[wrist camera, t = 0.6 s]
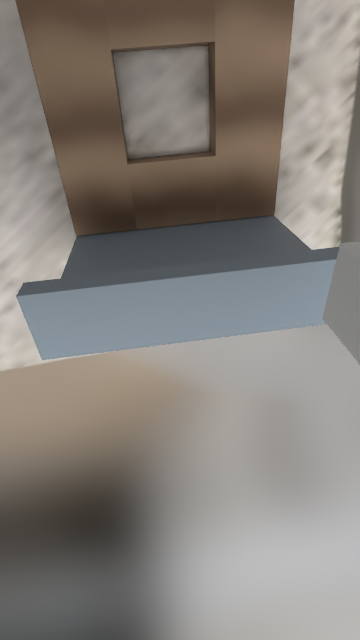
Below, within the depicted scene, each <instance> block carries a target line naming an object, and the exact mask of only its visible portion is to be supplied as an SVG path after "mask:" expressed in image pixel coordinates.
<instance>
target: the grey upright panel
mask: <svg viewBox="0 0 360 640" xmlns="http://www.w3.org/2000/svg"><path fill="white" fill-rule="evenodd" d="M338 251H339V247H335V248H326V249H317V250H311V249H310V248H309V247H308V246H307V245H306V244H304V243H303V242H302V241H301V240H300V239H299V238H298V237H297V236H296V235H295V234H293V233H292V232H291V231H290V230H289V229H288V228H287V227H286V226H285V225H283V224H282V223H281V222H280V221H279V220H278V219H277V218H276V217H275V216H274V215H269V216H260V217H251V218H241V219H232V220H223V221H213V222H204V223H195V224H185V225H176V226H167V227H157V228H148V229H139V230H129V231H120V232H111V233H101V234H92V235H83V236H77V237H76V240H75V243H74V245H73V248H72V251H71V253H70V256H69V259H68V261H67V264H66V266H65V269H64V272H63V274H62V277H61V279H53V280H44V281H36V282H27V283H23V285H22V287H21V289H20V290H19V292H18V294H17V296H16V297H17V300H18V302H19V305H20V307H21V309H22V312H23V314H24V317H25V319H26V322H27V324H28V327H29V329H30V331H31V334H32V336H33V339H34V341H35V344H36V346H37V349H38V351H39V353H40V356H41V358H42V360H46V359H54V358H62V357H70V356H78V355H86V354H93V353H101V352H109V351H117V350H125V349H133V348H141V347H148V346H156V345H165V344H172V343H180V342H188V341H196V340H204V339H212V338H220V337H228V336H236V335H243V334H252V333H258V332H267V331H275V330H283V329H291V328H298V327H306V326H314V325H323V324H327V323H326V322H325V321H324V320H323V318H322V317H323V313H324V309H325V305H326V301H327V296H328V292H329V288H330V284H331V280H332V276H333V272H334V268H335V264H336V259H337V255H338Z"/></svg>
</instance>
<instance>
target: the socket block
mask: <svg viewBox="0 0 360 640" xmlns="http://www.w3.org/2000/svg"><path fill="white" fill-rule="evenodd" d="M294 1H295V0H16V4H17V8H18V12H19V15H20V19H21V23H22V27H23V31H24V35H25V39H26V43H27V46H28V50H29V54H30V58H31V62H32V66H33V70H34V74H35V78H36V81H37V85H38V89H39V93H40V97H41V101H42V105H43V109H44V113H45V116H46V120H47V124H48V128H49V132H50V136H51V140H52V144H53V148H54V151H55V155H56V159H57V163H58V167H59V171H60V175H61V179H62V183H63V186H64V190H65V194H66V198H67V202H68V206H69V210H70V214H71V217H72V221H73V225H74V229H75V233H76V236H83V235H92V234H101V233H111V232H120V231H129V230H139V229H148V228H157V227H167V226H176V225H185V224H195V223H204V222H213V221H223V220H232V219H241V218H251V217H260V216H269V215H274V212H275V201H276V191H277V180H278V170H279V159H280V149H281V138H282V127H283V117H284V106H285V96H286V85H287V75H288V64H289V54H290V43H291V32H292V22H293V11H294ZM204 45H209V94H210V151H209V152H199V153H188V154H178V155H167V156H157V157H146V158H136V159H128V157H127V150H126V143H125V136H124V129H123V122H122V115H121V108H120V101H119V95H118V88H117V81H116V74H115V67H114V60H113V52H126V51H139V50H152V49H165V48H178V47H191V46H204Z"/></svg>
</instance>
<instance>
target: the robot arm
mask: <svg viewBox="0 0 360 640" xmlns="http://www.w3.org/2000/svg"><path fill="white" fill-rule="evenodd" d="M322 318H323V320H324V321H325V322H326V323H327V325H328V326H329V327H330V328H331V330H332V331H333V332H334V333H335V334H336V336H337V337H338V338H339V339H340V341H341V342H342V343H343V344H344V346H345V347H346V348H347V349H348V351H349V352H350V353H351V354H352V355H353V357H354V358H355V359H356V360H357V362H358V363H359V364H360V242H351V243H341V244H340V247H339V251H338V255H337V259H336V264H335V268H334V272H333V276H332V280H331V284H330V288H329V292H328V296H327V301H326V305H325V309H324V313H323V317H322Z"/></svg>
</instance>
